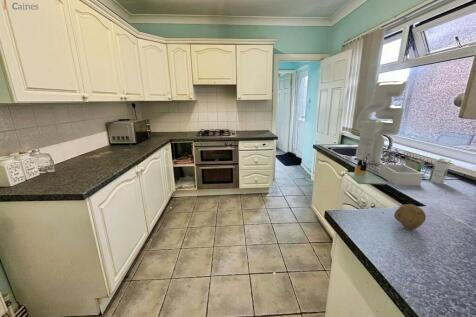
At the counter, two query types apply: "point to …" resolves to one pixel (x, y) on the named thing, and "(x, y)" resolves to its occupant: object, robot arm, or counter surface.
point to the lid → (364, 177)
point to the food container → (414, 163)
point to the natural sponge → (410, 216)
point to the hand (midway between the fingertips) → (361, 169)
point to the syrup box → (439, 170)
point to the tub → (400, 174)
